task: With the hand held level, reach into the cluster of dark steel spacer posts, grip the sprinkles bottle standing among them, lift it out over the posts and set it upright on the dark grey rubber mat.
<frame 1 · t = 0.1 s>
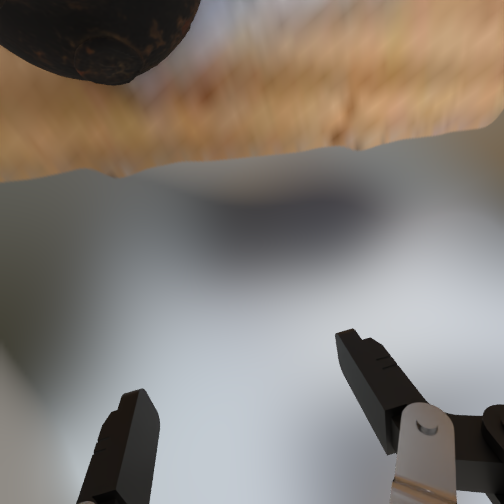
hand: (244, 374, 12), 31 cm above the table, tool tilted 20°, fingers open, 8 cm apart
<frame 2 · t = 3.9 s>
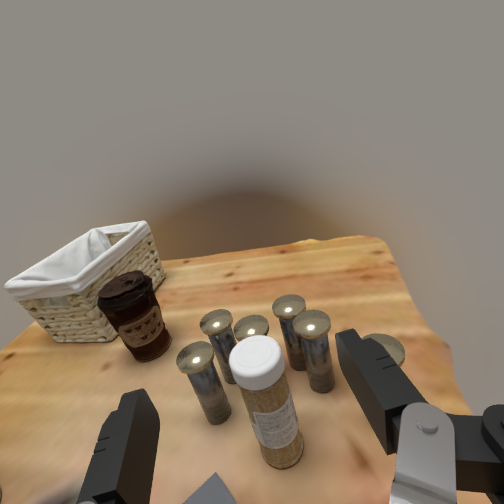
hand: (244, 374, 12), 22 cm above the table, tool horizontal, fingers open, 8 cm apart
spacer posts: (282, 446, 31), on the table
storage basket: (116, 308, 65), on the table
sprinkles bottle: (283, 447, 31), on the table
coffee cup: (154, 348, 50), on the table
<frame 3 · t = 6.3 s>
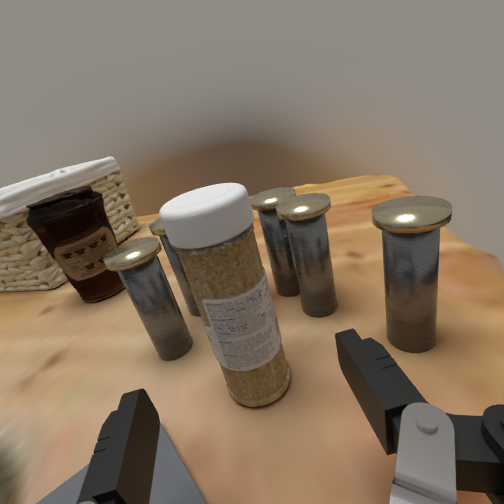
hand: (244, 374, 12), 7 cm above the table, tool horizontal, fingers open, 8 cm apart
spacer posts: (259, 380, 21), on the table
storage basket: (76, 259, 55), on the table
sprinkles bottle: (260, 382, 21), on the table
coffee cup: (109, 289, 40), on the table
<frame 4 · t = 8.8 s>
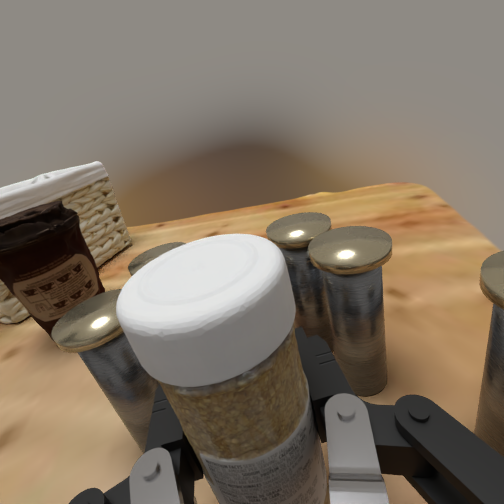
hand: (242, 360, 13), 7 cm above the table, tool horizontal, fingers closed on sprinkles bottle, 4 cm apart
storage basket: (56, 279, 47), on the table
coffee cup: (88, 326, 32), on the table
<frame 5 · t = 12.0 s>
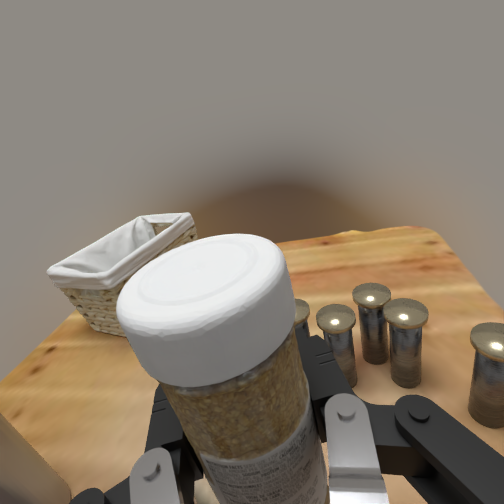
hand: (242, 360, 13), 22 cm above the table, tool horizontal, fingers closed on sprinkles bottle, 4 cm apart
spacer posts: (378, 445, 29), on the table
storage basket: (153, 301, 63), on the table
when the fingers open (9 cm above the table, at t = 15.2 s): sprinkles bottle drops 1 cm, resting on rubber mat.
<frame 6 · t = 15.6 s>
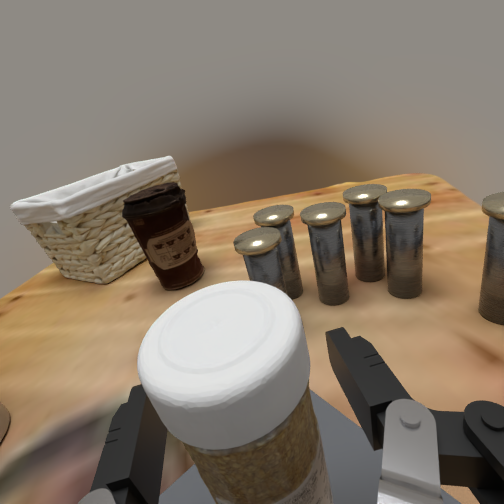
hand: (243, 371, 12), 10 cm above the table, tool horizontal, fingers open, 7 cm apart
spacer posts: (372, 350, 24), on the table
storage basket: (132, 252, 58), on the table
coffee cup: (184, 279, 43), on the table
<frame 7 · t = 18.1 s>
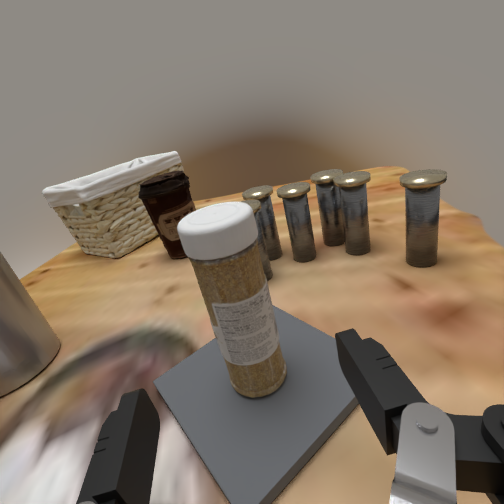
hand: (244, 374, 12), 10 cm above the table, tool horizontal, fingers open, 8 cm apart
spacer posts: (326, 286, 33), on the table
rubber mat: (261, 382, 24), on the table
storage basket: (141, 234, 67), on the table
sprinkles bottle: (259, 376, 23), point 1 cm above the table, touching rubber mat
coffee cup: (188, 251, 52), on the table
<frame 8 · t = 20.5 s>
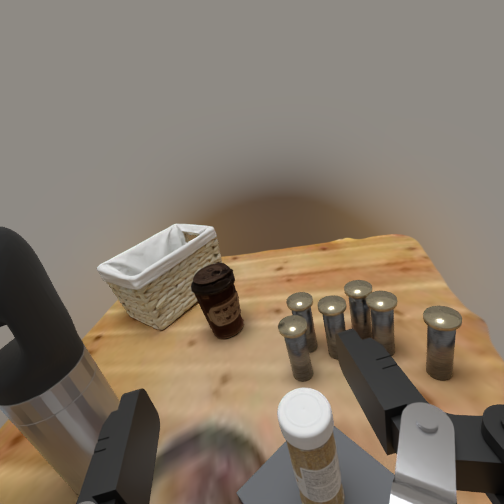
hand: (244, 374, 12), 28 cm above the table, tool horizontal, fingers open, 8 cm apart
spacer posts: (362, 393, 41), on the table
rubber mat: (323, 498, 31), on the table
storage basket: (178, 298, 75), on the table
sprinkles bottle: (322, 496, 31), point 1 cm above the table, touching rubber mat
coffee cup: (229, 328, 59), on the table
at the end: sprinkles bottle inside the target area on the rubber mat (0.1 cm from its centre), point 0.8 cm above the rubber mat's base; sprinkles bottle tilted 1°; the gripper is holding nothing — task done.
